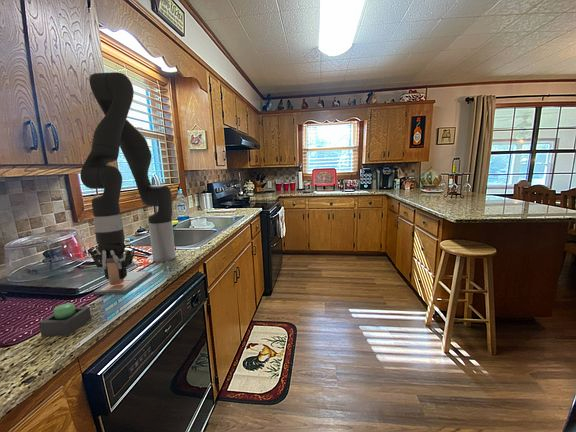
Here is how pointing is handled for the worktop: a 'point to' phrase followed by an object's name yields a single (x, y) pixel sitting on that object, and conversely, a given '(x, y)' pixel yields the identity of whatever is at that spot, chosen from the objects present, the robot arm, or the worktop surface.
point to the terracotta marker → (113, 272)
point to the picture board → (124, 283)
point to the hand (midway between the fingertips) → (116, 278)
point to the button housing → (65, 323)
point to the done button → (64, 310)
